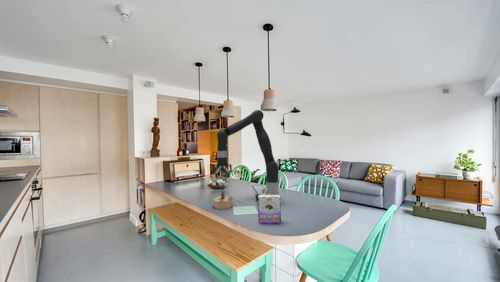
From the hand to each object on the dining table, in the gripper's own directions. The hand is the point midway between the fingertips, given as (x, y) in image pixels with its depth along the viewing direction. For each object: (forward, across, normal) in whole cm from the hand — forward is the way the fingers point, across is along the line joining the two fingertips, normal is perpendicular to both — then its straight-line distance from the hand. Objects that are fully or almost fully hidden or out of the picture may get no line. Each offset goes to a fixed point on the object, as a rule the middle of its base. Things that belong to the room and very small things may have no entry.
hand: (222, 178), depth 163 cm
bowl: (+22, 0, 0) cm, 22 cm away
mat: (+22, -16, +11) cm, 29 cm away
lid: (+16, 0, 0) cm, 17 cm away
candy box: (+22, -29, +34) cm, 50 cm away
